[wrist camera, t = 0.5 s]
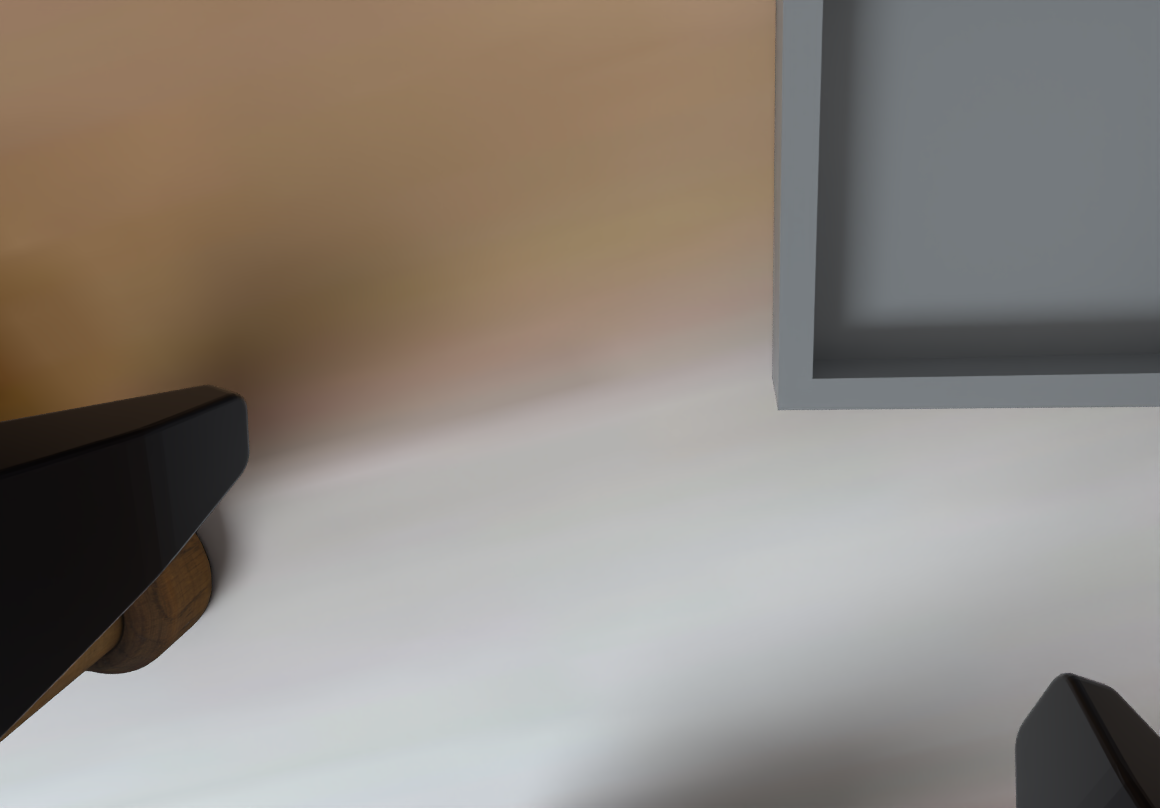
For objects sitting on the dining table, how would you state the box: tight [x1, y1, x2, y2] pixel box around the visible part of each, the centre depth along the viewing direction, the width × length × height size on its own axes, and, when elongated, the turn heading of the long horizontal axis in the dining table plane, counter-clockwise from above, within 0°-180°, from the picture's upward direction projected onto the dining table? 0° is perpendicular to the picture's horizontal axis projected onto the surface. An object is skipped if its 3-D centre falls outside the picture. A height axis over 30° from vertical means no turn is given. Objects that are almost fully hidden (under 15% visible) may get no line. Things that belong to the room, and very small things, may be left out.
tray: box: [772, 0, 1160, 410], centre depth 17 cm, size 11×11×2 cm
